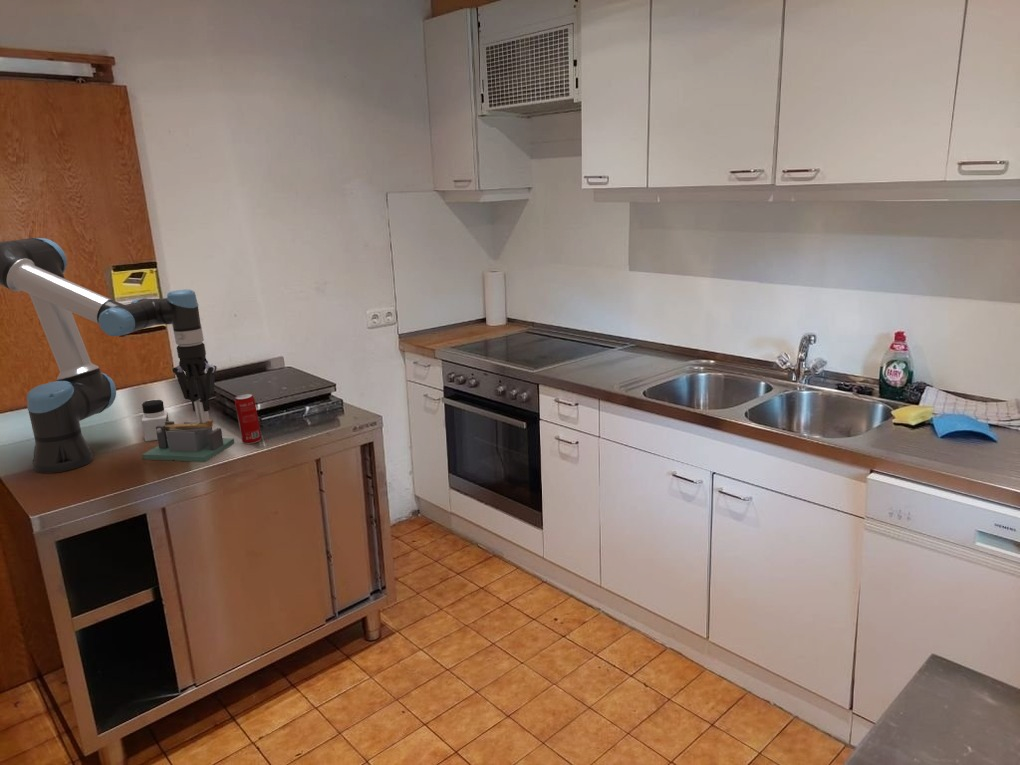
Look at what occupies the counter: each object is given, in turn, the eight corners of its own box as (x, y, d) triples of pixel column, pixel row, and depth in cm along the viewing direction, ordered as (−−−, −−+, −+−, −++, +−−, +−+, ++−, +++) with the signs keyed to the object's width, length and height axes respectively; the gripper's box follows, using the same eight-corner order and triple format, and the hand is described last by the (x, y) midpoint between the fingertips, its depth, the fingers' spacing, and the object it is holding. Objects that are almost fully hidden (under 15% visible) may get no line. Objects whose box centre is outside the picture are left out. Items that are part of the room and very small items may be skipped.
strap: (160, 430, 222) (159, 425, 222) (167, 427, 226) (166, 422, 225) (207, 428, 219) (205, 423, 219) (213, 424, 222) (212, 419, 222)
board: (143, 459, 219) (138, 432, 216) (176, 440, 234) (172, 415, 232) (204, 462, 215) (200, 434, 213) (234, 443, 230) (230, 417, 228)
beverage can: (265, 438, 233) (259, 392, 229) (253, 445, 227) (247, 398, 223) (248, 437, 235) (243, 391, 231) (236, 444, 229) (230, 397, 225)
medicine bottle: (169, 438, 236) (163, 402, 233) (144, 441, 234) (138, 405, 230) (170, 431, 243) (165, 396, 239) (146, 435, 240) (140, 399, 237)
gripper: (160, 347, 212) (175, 425, 218) (204, 346, 210) (217, 425, 216) (176, 341, 219) (190, 417, 226) (219, 340, 217) (231, 417, 223)
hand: (203, 421), depth 221 cm, fingers closed, pressing on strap
